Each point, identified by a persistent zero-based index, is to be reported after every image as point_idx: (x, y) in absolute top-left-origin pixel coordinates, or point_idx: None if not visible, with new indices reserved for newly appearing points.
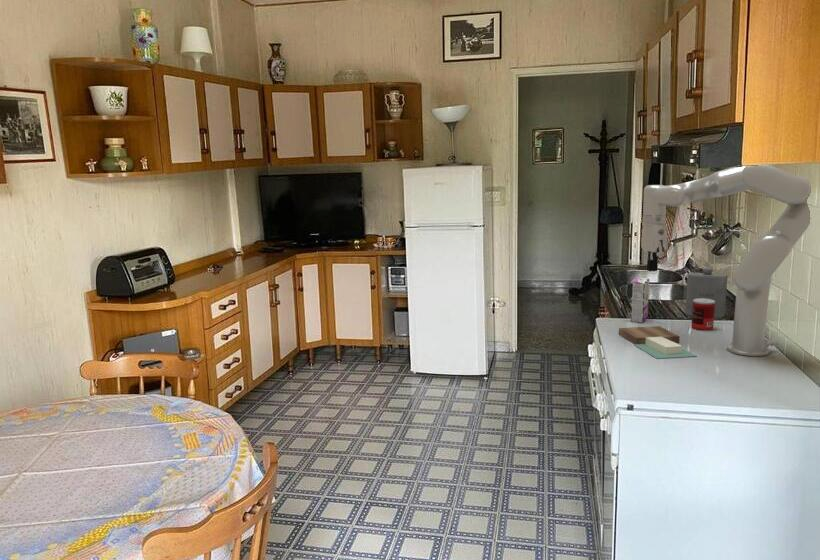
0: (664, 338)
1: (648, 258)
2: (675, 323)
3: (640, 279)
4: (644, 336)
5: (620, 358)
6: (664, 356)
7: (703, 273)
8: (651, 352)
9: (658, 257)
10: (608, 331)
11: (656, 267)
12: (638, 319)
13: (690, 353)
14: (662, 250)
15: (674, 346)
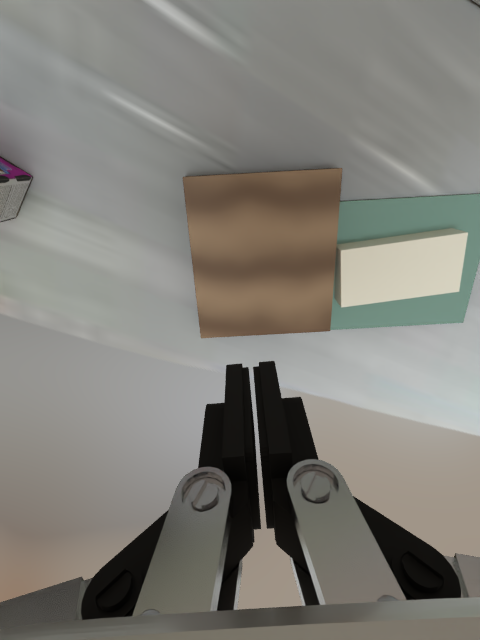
0: (367, 250)
1: (243, 556)
2: (16, 2)
3: None
4: (316, 300)
5: (421, 399)
6: (459, 295)
7: None
8: (412, 314)
9: (394, 525)
10: (163, 343)
11: (301, 402)
12: (20, 194)
13: (466, 200)
14: (437, 633)
15: (463, 262)
